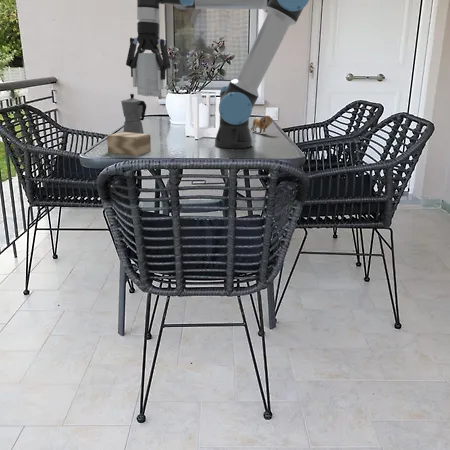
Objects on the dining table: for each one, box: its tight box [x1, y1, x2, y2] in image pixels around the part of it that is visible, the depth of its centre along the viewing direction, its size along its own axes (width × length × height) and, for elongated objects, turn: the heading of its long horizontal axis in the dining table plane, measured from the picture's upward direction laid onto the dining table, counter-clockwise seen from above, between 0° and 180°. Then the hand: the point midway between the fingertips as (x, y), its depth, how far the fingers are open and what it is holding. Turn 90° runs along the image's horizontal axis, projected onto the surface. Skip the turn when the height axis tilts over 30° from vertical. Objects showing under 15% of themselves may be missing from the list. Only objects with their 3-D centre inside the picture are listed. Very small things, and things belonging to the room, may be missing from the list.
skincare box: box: [136, 52, 161, 98], centre depth 172 cm, size 8×6×15 cm
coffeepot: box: [120, 93, 147, 134], centre depth 206 cm, size 15×9×18 cm, turn 49°
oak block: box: [106, 131, 152, 157], centre depth 174 cm, size 12×10×6 cm
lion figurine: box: [250, 114, 274, 133], centre depth 226 cm, size 15×5×9 cm, turn 38°
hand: (148, 88), depth 174 cm, fingers closed on skincare box, 10 cm apart
